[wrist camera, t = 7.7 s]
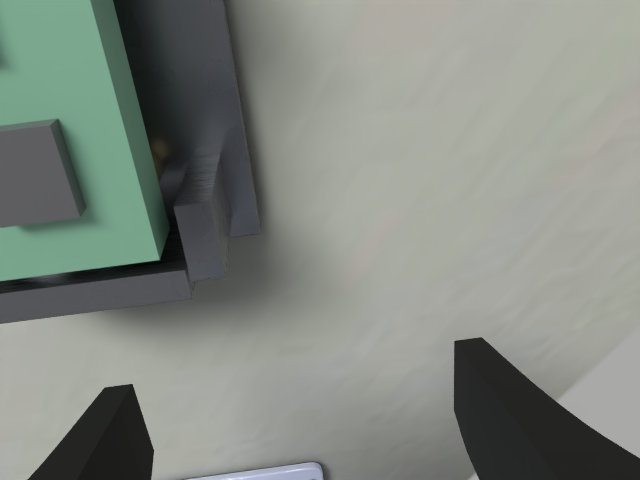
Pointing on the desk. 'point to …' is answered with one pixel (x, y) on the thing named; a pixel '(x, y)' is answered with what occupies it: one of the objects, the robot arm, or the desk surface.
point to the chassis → (169, 165)
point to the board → (72, 144)
